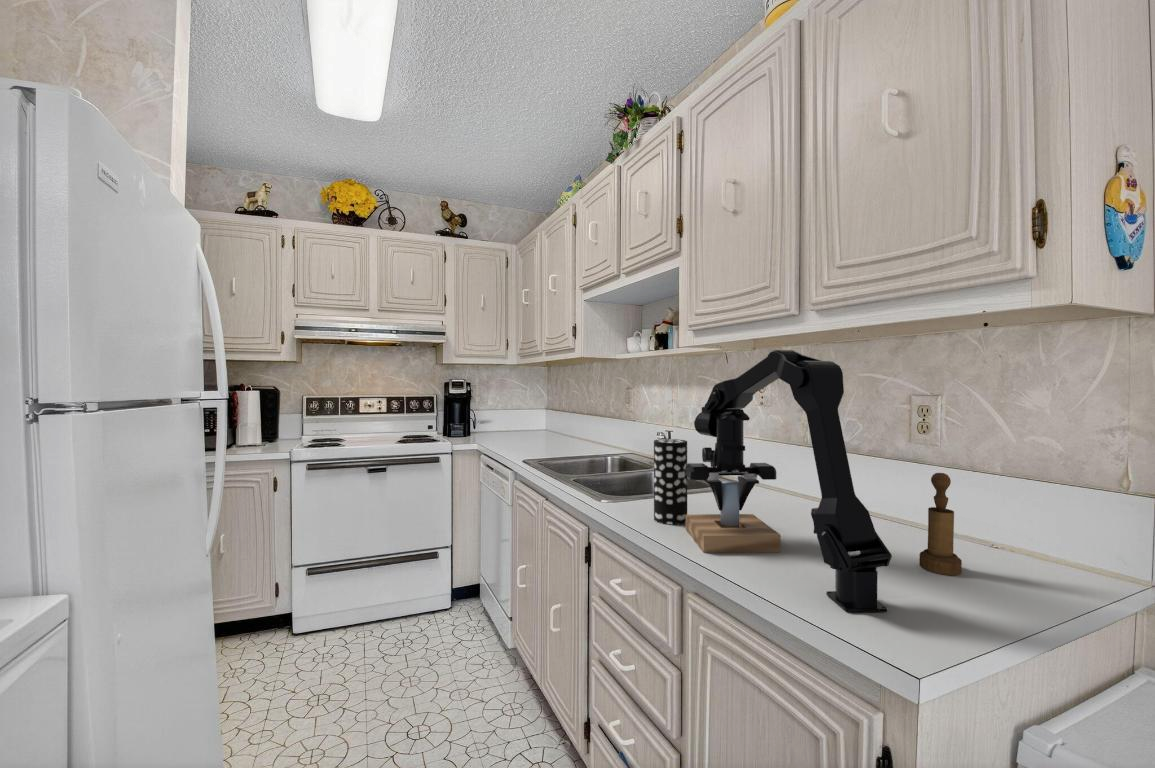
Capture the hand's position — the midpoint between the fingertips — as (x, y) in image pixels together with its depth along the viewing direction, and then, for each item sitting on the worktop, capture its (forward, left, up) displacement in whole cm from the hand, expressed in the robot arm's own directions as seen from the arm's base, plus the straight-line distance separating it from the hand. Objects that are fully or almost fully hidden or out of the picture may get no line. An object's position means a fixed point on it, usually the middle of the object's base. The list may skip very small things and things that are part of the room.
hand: (730, 510), depth 113 cm
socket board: (0, 0, -7) cm, 7 cm away
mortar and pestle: (-18, -34, -7) cm, 39 cm away
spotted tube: (+16, +10, -7) cm, 20 cm away
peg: (0, 0, -3) cm, 3 cm away
